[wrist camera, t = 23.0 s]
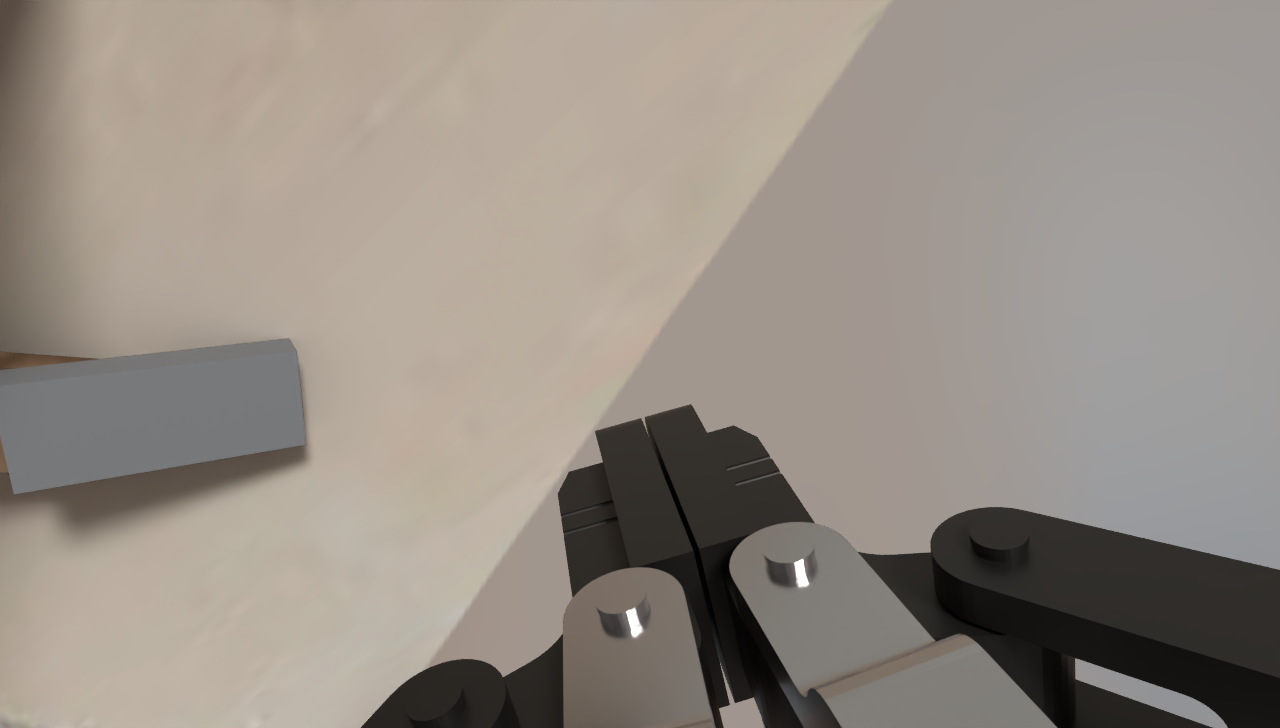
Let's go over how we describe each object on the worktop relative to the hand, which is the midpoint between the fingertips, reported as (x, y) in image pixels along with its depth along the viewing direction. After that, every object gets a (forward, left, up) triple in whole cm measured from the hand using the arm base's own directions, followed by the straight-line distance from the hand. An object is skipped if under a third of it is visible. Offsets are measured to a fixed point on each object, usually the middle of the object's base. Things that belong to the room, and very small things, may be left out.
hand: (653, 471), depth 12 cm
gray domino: (-9, -14, -30) cm, 34 cm away
